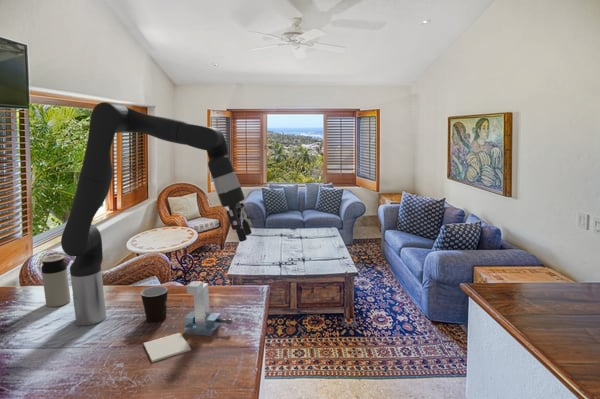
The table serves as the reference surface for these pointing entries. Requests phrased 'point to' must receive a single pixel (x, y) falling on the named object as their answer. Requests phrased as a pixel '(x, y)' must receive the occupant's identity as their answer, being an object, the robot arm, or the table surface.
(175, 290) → the table surface
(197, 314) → the brushed aluminum pillar
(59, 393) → the table surface
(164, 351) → the felt pad
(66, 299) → the travel mug
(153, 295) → the coffee mug
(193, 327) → the vise
